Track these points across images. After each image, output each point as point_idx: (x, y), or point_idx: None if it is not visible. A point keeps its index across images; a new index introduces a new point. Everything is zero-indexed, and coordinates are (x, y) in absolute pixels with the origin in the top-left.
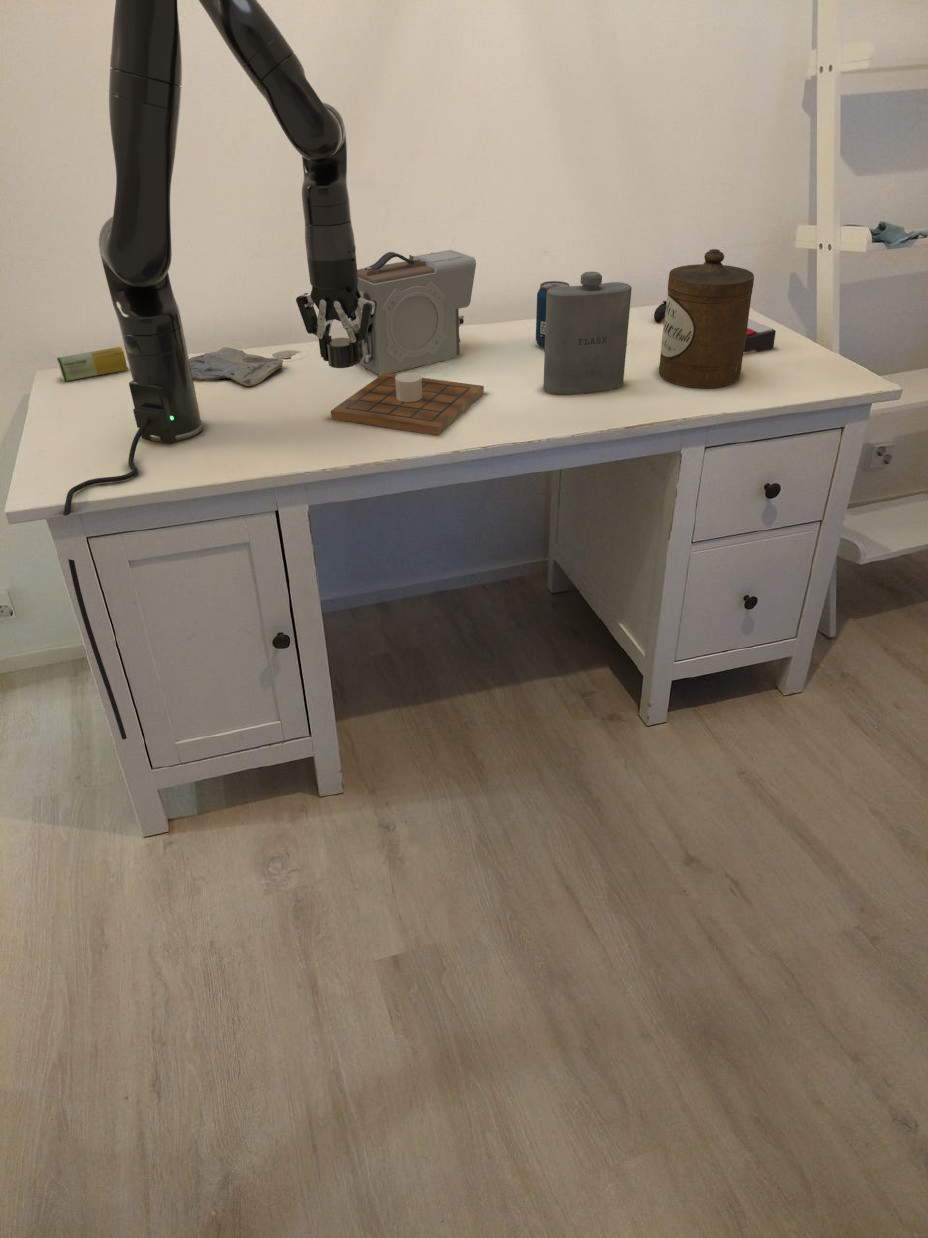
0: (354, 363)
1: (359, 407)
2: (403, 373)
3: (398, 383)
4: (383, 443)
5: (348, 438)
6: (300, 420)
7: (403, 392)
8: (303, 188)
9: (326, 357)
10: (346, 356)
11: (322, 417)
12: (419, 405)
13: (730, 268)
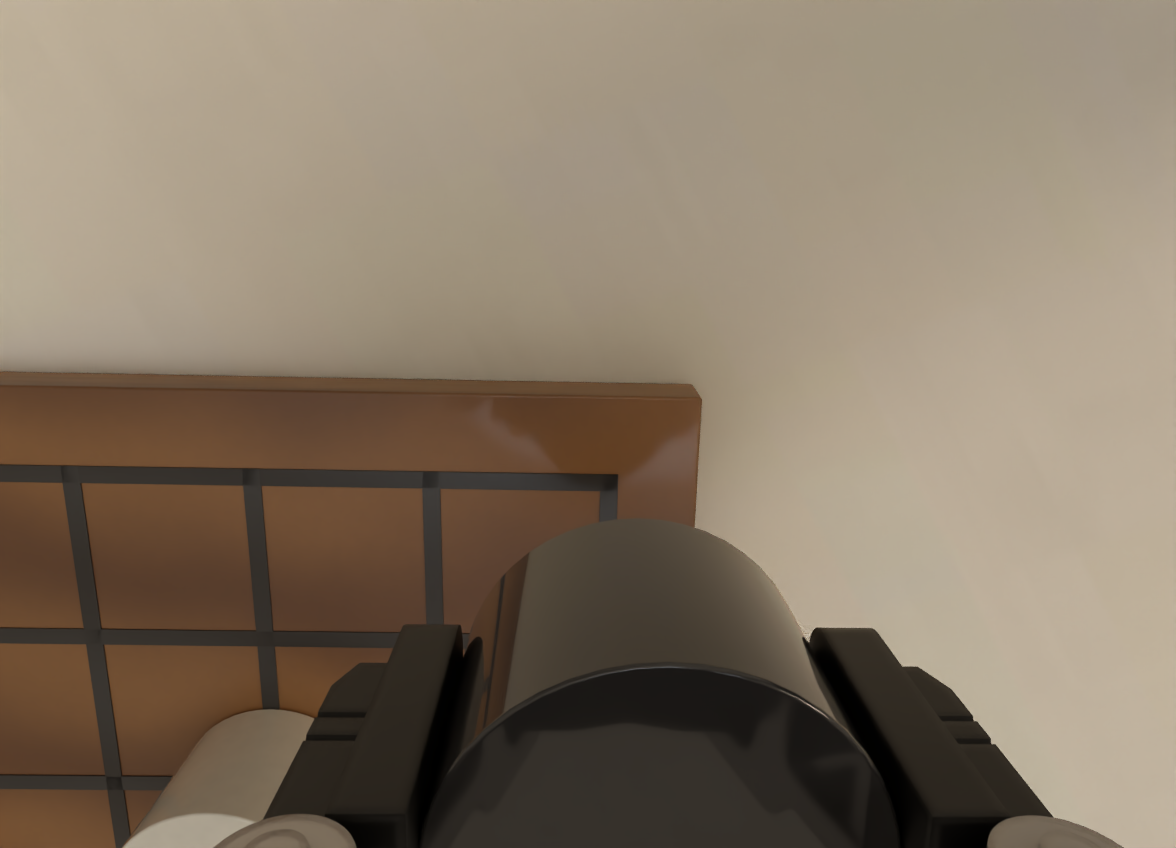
0: (405, 625)
1: (520, 520)
2: None
3: (259, 802)
4: (108, 106)
5: (397, 101)
6: (898, 286)
7: (240, 752)
8: None
9: (829, 641)
10: (486, 643)
11: (767, 389)
12: (134, 688)
13: None
